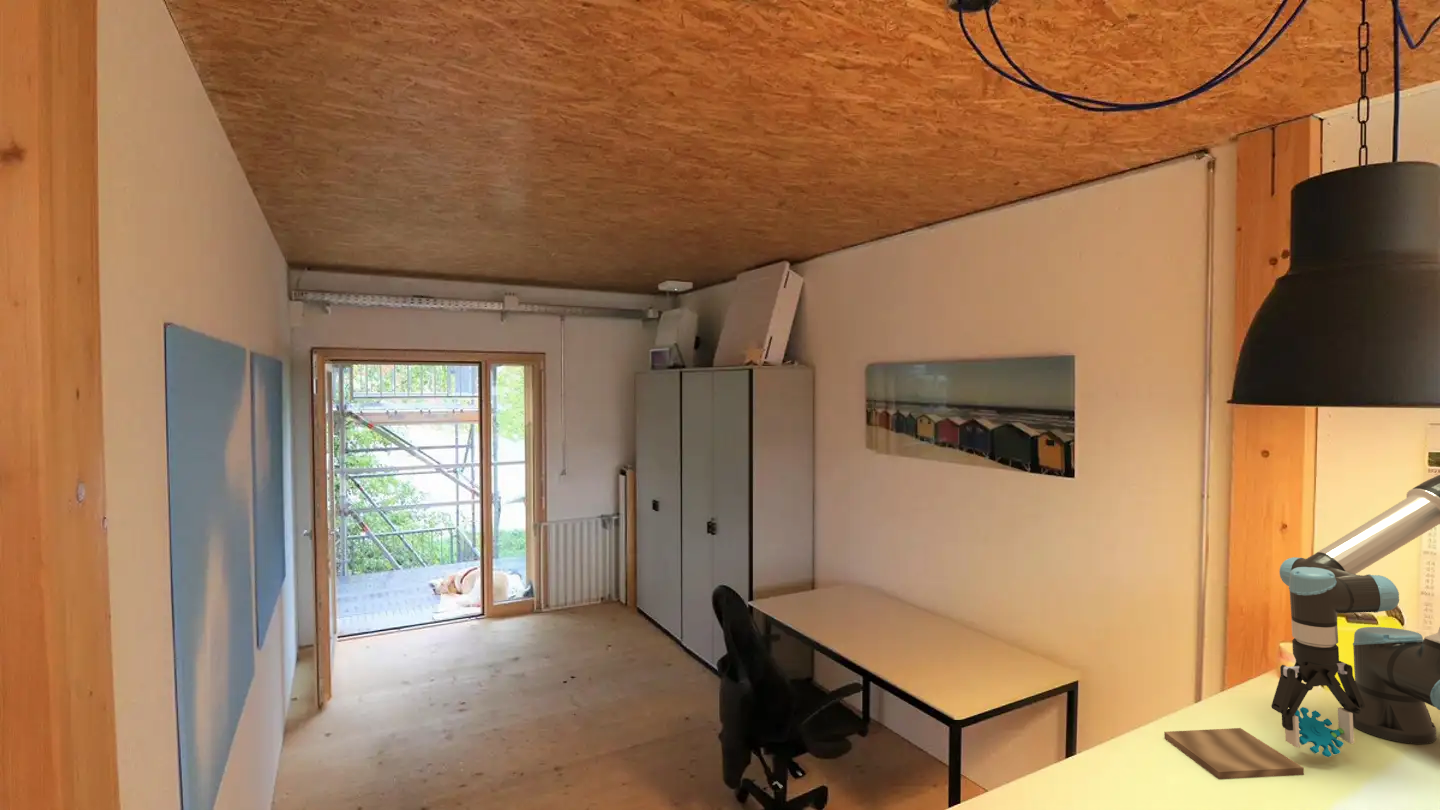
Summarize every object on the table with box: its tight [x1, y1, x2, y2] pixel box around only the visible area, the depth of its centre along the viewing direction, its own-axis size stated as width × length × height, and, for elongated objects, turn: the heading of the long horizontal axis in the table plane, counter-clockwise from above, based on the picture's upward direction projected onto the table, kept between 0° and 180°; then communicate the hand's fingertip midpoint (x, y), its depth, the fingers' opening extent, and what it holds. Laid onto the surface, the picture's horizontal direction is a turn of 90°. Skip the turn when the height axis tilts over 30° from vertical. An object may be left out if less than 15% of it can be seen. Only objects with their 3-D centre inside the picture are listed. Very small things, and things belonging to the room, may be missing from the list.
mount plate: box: [1164, 727, 1305, 780], centre depth 151 cm, size 18×17×2 cm
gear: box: [1295, 706, 1344, 758], centre depth 149 cm, size 11×6×10 cm
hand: (1319, 742), depth 148 cm, fingers closed on gear, 11 cm apart
